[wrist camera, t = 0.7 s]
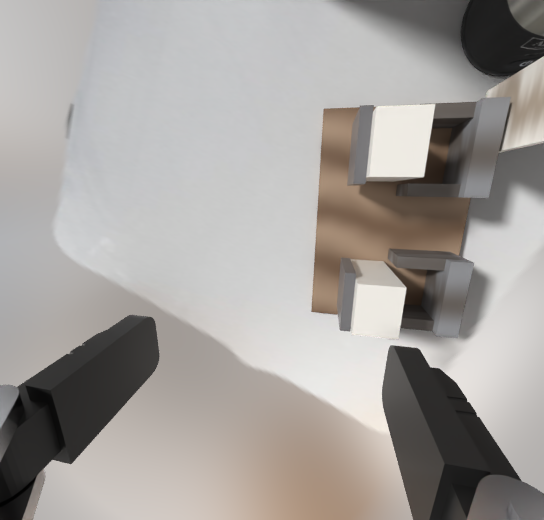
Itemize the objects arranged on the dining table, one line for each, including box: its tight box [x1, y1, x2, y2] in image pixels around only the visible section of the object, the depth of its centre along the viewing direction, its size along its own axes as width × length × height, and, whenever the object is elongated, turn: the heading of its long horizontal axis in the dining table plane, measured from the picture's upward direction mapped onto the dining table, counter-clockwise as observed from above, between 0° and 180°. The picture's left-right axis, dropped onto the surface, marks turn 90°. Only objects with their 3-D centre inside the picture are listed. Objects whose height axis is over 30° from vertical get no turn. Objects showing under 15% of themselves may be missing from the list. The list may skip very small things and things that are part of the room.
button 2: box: [347, 104, 435, 186], centre depth 24 cm, size 6×5×9 cm
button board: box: [312, 56, 544, 338], centre depth 26 cm, size 25×16×11 cm, turn 179°
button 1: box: [337, 258, 406, 340], centre depth 28 cm, size 6×5×9 cm
